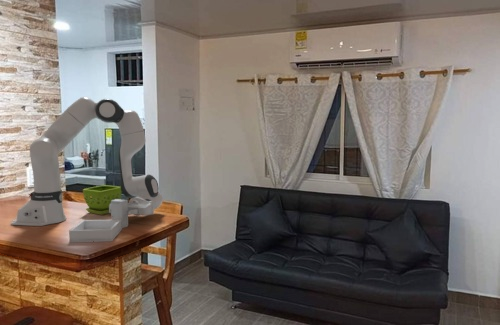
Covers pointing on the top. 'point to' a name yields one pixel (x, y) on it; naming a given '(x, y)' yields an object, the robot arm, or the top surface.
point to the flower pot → (101, 198)
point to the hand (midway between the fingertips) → (119, 212)
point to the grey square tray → (95, 230)
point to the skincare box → (120, 211)
